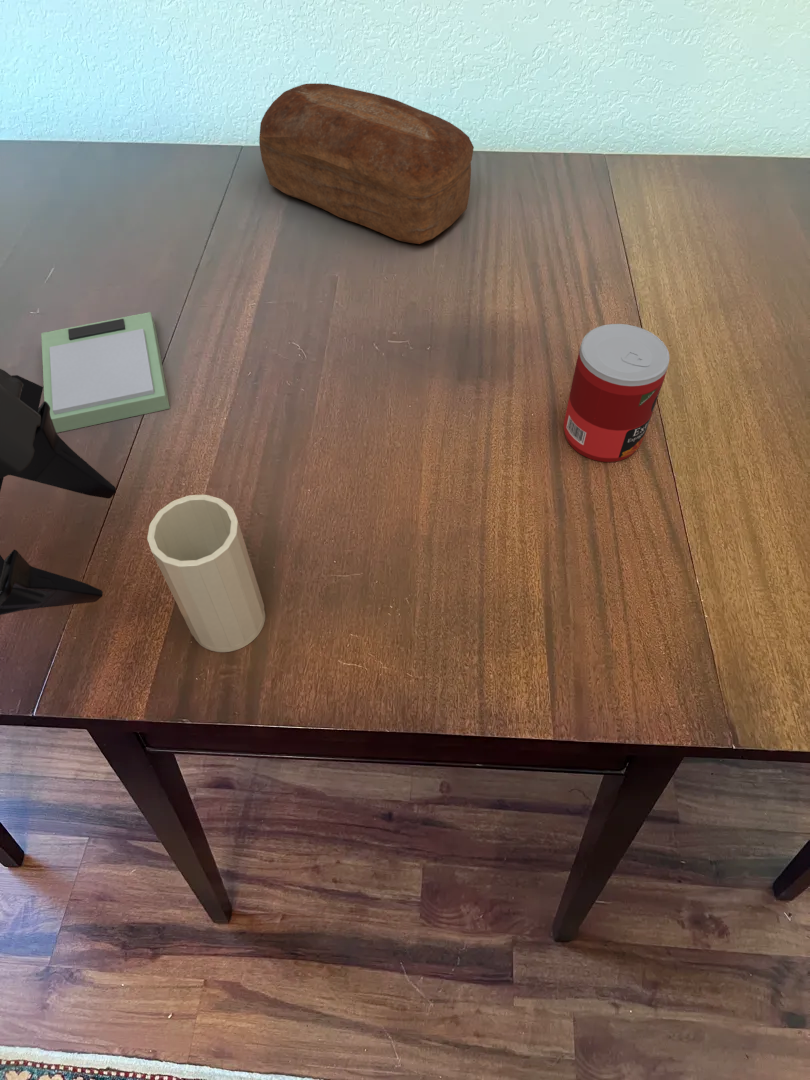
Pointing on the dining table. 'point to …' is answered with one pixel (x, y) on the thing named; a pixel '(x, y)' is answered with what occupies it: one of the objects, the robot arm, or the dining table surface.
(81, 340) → the scale
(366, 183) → the bread
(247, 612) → the cup
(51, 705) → the dining table surface
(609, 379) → the canned food
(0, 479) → the robot arm
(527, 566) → the dining table surface
